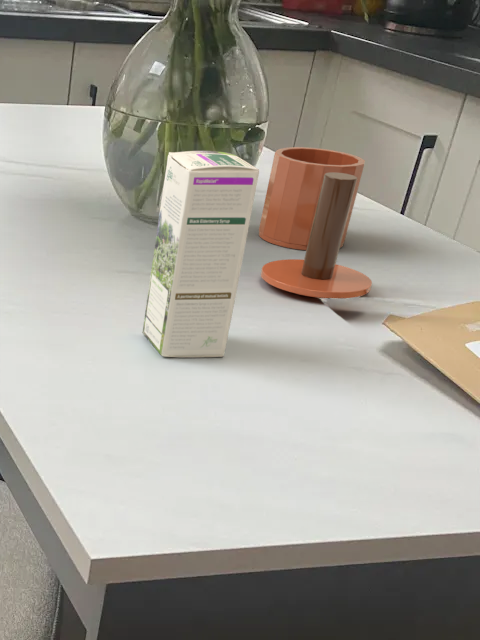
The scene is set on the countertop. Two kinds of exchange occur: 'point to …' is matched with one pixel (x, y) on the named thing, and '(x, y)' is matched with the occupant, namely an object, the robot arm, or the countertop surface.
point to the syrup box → (198, 252)
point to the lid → (323, 249)
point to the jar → (301, 192)
